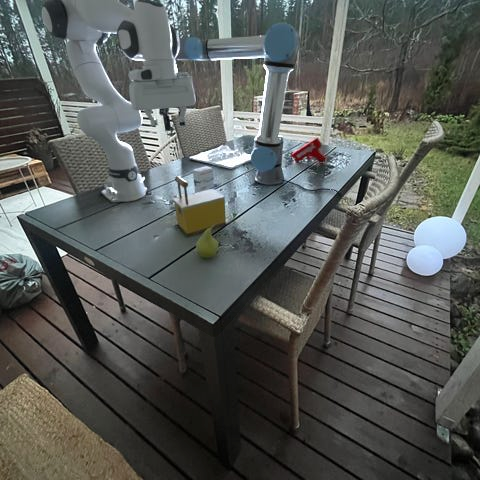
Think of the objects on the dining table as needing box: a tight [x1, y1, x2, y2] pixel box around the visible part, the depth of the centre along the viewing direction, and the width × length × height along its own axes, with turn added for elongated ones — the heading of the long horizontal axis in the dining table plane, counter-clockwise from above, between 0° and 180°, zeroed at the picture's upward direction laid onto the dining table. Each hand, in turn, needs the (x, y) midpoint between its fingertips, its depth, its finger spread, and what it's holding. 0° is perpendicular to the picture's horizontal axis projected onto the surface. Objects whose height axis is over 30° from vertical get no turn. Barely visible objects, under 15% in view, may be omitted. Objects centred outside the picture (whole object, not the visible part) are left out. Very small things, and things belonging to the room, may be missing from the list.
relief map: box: [189, 144, 251, 170], centre depth 177 cm, size 27×35×5 cm
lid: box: [171, 175, 226, 210], centre depth 96 cm, size 17×9×9 cm, turn 123°
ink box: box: [192, 165, 215, 193], centre depth 128 cm, size 8×5×12 cm, turn 135°
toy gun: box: [291, 136, 327, 165], centre depth 168 cm, size 18×4×15 cm
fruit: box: [195, 221, 219, 259], centre depth 84 cm, size 7×8×12 cm
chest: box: [174, 198, 227, 238], centre depth 101 cm, size 16×9×11 cm, turn 123°
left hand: (168, 123), depth 86 cm, fingers open, 8 cm apart
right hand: (175, 128), depth 131 cm, fingers open, 13 cm apart
